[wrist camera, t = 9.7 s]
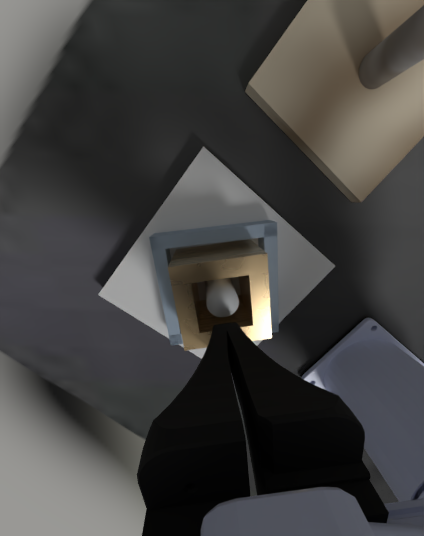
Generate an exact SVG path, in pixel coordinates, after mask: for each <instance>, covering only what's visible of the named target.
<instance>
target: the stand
mask: <svg viewBox="0 0 424 536" xmlns="http://www.w3.org/2000/svg"><path fill="white" fill-rule="evenodd" d="M245 92H246V93H247V94H248V96H249V97H250V98H251V99H252V100H253V101H254V102H255V103H256V104H257V105H258V106H259V107H260V108H261V109H262V110H263V111H264V112H265V113H266V114H267V115H268V116H269V117H270V118H271V119H272V120H273V121H274V122H275V124H276V125H277V126H278V127H279V128H280V129H281V130H282V131H283V132H284V133H285V134H286V135H287V136H288V137H289V138H290V139H291V140H292V141H293V142H294V143H295V144H296V145H297V146H298V147H299V148H300V149H301V151H302V152H303V153H304V154H305V155H306V156H307V157H308V158H309V159H310V160H311V161H312V162H313V163H314V164H315V165H316V166H317V167H318V168H319V169H320V170H321V171H322V172H323V173H324V174H325V175H326V176H327V178H328V179H329V180H330V181H331V182H332V183H333V184H334V185H335V186H336V187H337V188H338V189H339V190H340V191H341V192H342V193H343V194H344V195H345V196H346V197H347V198H348V199H349V200H350V201H351V202H362V201H363V200H364V199H365V198H366V197H367V196H368V195H369V194H370V193H371V192H372V190H373V189H374V188H375V187H376V186H377V185H378V184H379V183H380V182H381V181H382V180H383V179H384V178H385V177H386V176H387V175H388V173H389V172H390V171H391V170H392V169H393V168H394V167H395V166H396V165H397V164H398V163H399V162H400V161H401V160H402V159H403V158H404V157H405V155H406V154H407V153H408V152H409V151H410V150H411V149H412V148H413V147H414V146H415V145H416V144H417V143H418V142H419V141H420V140H421V139H422V137H423V136H424V0H307V2H306V3H305V4H304V6H303V7H302V9H301V10H300V11H299V13H298V14H297V16H296V17H295V18H294V20H293V21H292V23H291V24H290V25H289V27H288V28H287V30H286V31H285V33H284V34H283V35H282V37H281V38H280V40H279V41H278V42H277V44H276V45H275V47H274V48H273V49H272V51H271V52H270V54H269V55H268V56H267V58H266V59H265V61H264V62H263V63H262V65H261V66H260V68H259V69H258V71H257V72H256V73H255V75H254V76H253V78H252V79H251V80H250V82H249V83H248V86H247V88H246V90H245Z"/></svg>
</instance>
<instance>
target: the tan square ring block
mask: <svg viewBox="0 0 424 536" xmlns="http://www.w3.org/2000/svg"><path fill="white" fill-rule="evenodd" d="M168 272H169V277H170V281H171V286H172V291H173V296H174V301H175V306H176V311H177V316H178V321H179V325H180V330H181V335H182V340H183V345H184V350H185V351H186V350H193V349H200V348H207V346H208V343H209V341H210V338H211V334H212V328H213V326H214V325H218V324H226V323H234V322H236V323H237V324H238V325H239V326H240V328H241V329H242V330H243V331H244V333H245V334H246V335H247V336H248V337H249V338H250V339H251V340H252V341H256V340H263V339H270V338H272V331H271V311H270V292H269V272H268V253H266V252H265V251H264V250H263V249H261V248H260V247H259V246H258V245H257V244H255V243H254V242H253V241H252V240H250V239H247V240H240V241H233V242H226V243H218V244H211V245H204V246H197V247H190V248H182V249H176V251H175V253H174V255H173V257H172V259H171V261H170V264H169V266H168ZM232 277H239V285H240V295H237V296H238V299H239V305H238V308H237V310H236V311H235V312H234V313H233V314H232V315H230V316H227V317H217V316H214V315H213V314H211V313H210V312H209V310H208V308H207V303H206V300H201V301H200V299H199V293H198V287H197V282H203V281H210V280H217V279H225V278H232Z"/></svg>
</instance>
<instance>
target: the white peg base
mask: <svg viewBox="0 0 424 536" xmlns="http://www.w3.org/2000/svg"><path fill="white" fill-rule="evenodd" d="M247 239H250V240H252V241H253V242H254V243H255V244H257V245H258V246H259V247H260V248H261V249H263V250H264V251H265V252H266V253H268V272H269V292H270V311H271V331H272V333H274V332H279V323H280V322H281V321H282V320H283V319H284V318H285V317H286V316H287V315H288V314H289V313H290V312H291V311H292V310H293V309H294V308H295V307H296V306H297V305H298V304H299V303H300V302H301V301H302V300H303V299H304V298H305V297H306V296H307V295H308V294H309V293H310V292H311V291H312V290H313V289H314V288H315V287H316V285H317V284H318V283H319V282H320V281H321V280H322V279H323V278H324V277H325V276H326V275H327V274H328V273H329V272H330V271H331V270H332V269H333V268H334V267H335V265H334V264H333V263H332V262H330V261H329V260H328V259H327V258H326V257H325V256H324V255H323V254H322V253H320V252H319V251H318V250H317V249H316V248H315V247H314V246H313V245H312V244H311V243H309V242H308V241H307V240H306V239H305V238H304V237H303V236H302V235H301V234H300V233H298V232H297V231H296V230H295V229H294V228H293V227H292V226H291V225H290V224H288V223H287V222H286V221H285V220H284V219H283V218H282V217H281V216H280V215H279V214H277V213H276V212H275V211H274V210H273V209H272V208H271V207H270V206H269V205H268V204H266V203H265V202H264V201H263V200H262V199H261V198H260V197H259V196H258V195H256V194H255V193H254V192H253V191H252V190H251V189H250V188H249V187H248V186H247V185H245V184H244V183H243V182H242V181H241V180H240V179H239V178H238V177H237V176H236V175H234V174H233V173H232V172H231V171H230V170H229V169H228V168H227V167H226V166H224V165H223V164H222V163H221V162H220V161H219V160H218V159H217V158H216V157H215V156H213V155H212V154H211V153H210V152H209V151H208V150H207V149H206V148H205V147H204V146H203V148H202V149H201V151H200V152H199V154H198V155H197V156H196V158H195V159H194V161H193V162H192V163H191V165H190V166H189V168H188V169H187V170H186V172H185V173H184V175H183V176H182V177H181V179H180V180H179V182H178V183H177V184H176V186H175V187H174V189H173V190H172V192H171V193H170V194H169V196H168V197H167V199H166V200H165V201H164V203H163V204H162V206H161V207H160V208H159V210H158V211H157V213H156V214H155V215H154V217H153V218H152V220H151V221H150V222H149V224H148V225H147V227H146V228H145V230H144V231H143V232H142V234H141V235H140V237H139V238H138V239H137V241H136V242H135V244H134V245H133V246H132V248H131V249H130V251H129V252H128V253H127V255H126V256H125V258H124V259H123V260H122V262H121V263H120V265H119V266H118V268H117V269H116V270H115V272H114V273H113V275H112V276H111V277H110V279H109V280H108V282H107V283H106V284H105V286H104V287H103V289H102V290H101V291H100V293H99V294H98V295H99V296H101V297H103V298H104V299H106V300H107V301H109V302H111V303H112V304H114V305H116V306H117V307H119V308H120V309H122V310H124V311H125V312H127V313H129V314H130V315H132V316H133V317H135V318H137V319H138V320H140V321H141V322H143V323H145V324H146V325H148V326H150V327H151V328H153V329H154V330H156V331H158V332H159V333H161V334H163V335H164V336H166V337H167V338H169V339H170V344H171V345H177V344H179V345H180V346H182V347H184V345H183V340H182V335H181V330H180V325H179V321H178V316H177V311H176V306H175V301H174V296H173V291H172V286H171V281H170V277H169V272H168V266H169V264H170V261H171V259H172V257H173V255H174V253H175V251H176V249H182V248H190V247H197V246H204V245H211V244H218V243H226V242H233V241H240V240H247ZM197 287H198V293H199V299H200V301H201V300H206V303H207V308H208V310H209V312H210V313H211V314H213V315H214V316H217V317H227V316H230V315H232V314H233V313H234V312H235V311H236V310H237V308H238V305H239V299H238V296H237V295H240V285H239V277H232V278H225V279H217V280H210V281H203V282H197ZM261 341H262V340H256V341H253V342H254V344H255V345H256V346H257V345H258V344H259V343H260V342H261ZM206 349H207V348H200V349H193V350H188V351H190V352H192V353H193V354H195V355H196V356H198V357H200V358H201V359H202V358H203V355H204V353H205V351H206Z"/></svg>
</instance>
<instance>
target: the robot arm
mask: <svg viewBox="0 0 424 536" xmlns="http://www.w3.org/2000/svg"><path fill="white" fill-rule="evenodd" d="M231 373H232V375H231ZM232 377H233V380H234V384H235V388H236V391H237V395H238V399H239V402H240V406H241V410H242V414H243V418H244V423H245V429H246V434H247V440H248V445H249V451H250V457H251V462H252V468H253V473H254V479H255V485H256V491H257V496H251V497H250V486H249V474H248V462H247V451H246V440H245V434H244V428H243V423H242V418H241V414H240V411H239V406H238V402H237V398H236V394H235V389H234V385H233V380H232ZM363 449H365V450H366V452H367V453H368V455H369V456H370V458H371V459H372V461H373V462H374V464H375V465H376V467H377V468H378V470H379V471H380V473H381V475H382V476H383V478H384V479H385V481H386V482H387V484H388V485H389V487H390V488H391V490H392V491H393V493H394V494H395V496H396V497H397V499H398V500H399V502H394V503H387V504H383V502H382V500H381V499H380V497H379V495H378V494H377V492H376V490H375V489H374V487H373V485H372V484H371V482H370V480H369V479H370V473H369V471H368V469H367V468H366V466H365V465H364V463H363V461H362V455H363ZM137 479H138V484H139V487H140V490H141V493H142V496H143V499H144V502H145V505H146V508H147V510H146V516H145V522H144V527H143V533H142V536H424V363H423V362H422V361H421V360H419V359H418V358H417V357H416V356H415V355H414V354H413V353H411V352H410V351H409V350H408V349H407V348H406V347H404V346H403V345H402V344H401V343H400V342H399V341H398V340H396V339H395V338H394V337H393V336H392V335H391V334H390V333H388V332H387V331H386V330H385V329H384V328H383V327H382V326H380V325H379V324H378V323H377V322H376V321H375V320H373V319H372V318H365V319H364V320H363V321H362V322H360V323H359V324H358V325H357V326H356V327H355V328H354V329H353V330H352V331H351V332H350V333H348V334H347V335H346V336H345V337H344V338H343V339H342V340H341V341H340V342H339V343H337V344H336V345H335V346H334V347H333V348H332V349H331V350H330V351H329V352H328V353H326V354H325V355H324V356H323V357H322V358H321V359H320V360H319V361H318V362H317V363H315V364H314V365H313V366H312V367H311V368H310V369H309V370H308V371H307V372H306V373H304V374H303V376H302V378H300V377H298V376H296V375H295V374H293V373H291V372H290V371H288V370H287V369H285V368H283V367H282V366H280V365H279V364H278V363H276V362H275V361H274V360H272V359H271V358H270V357H269V356H267V355H266V354H265V353H264V352H263V351H262V350H261V349H260V348H258V347H257V346H256V345H255V344H254V342H253V341H252V340H251V339H250V338H249V337H248V336H247V335H246V334H245V333H244V331H243V330H242V329H241V328H240V326H239V325H238V324H237V323H236V322H234V323H226V324H218V325H214V326H213V328H212V334H211V338H210V341H209V343H208V346H207V349H206V351H205V353H204V355H203V358H202V360H201V362H200V364H199V365H198V367H197V369H196V371H195V372H194V374H193V375H192V377H191V378H190V380H189V381H188V383H187V384H186V386H185V387H184V388H183V390H182V391H181V392H180V393H179V394H178V396H177V397H176V398H175V399H174V400H173V401H172V403H171V404H170V405H169V406H168V407H167V408H166V409H165V410H164V411H163V412H162V413H161V414H160V415H159V416H158V417H157V418H155V419H154V420H153V422H152V425H151V427H150V430H149V432H148V435H147V438H146V441H145V444H144V447H143V451H142V455H141V459H140V464H139V469H138V473H137Z"/></svg>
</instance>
